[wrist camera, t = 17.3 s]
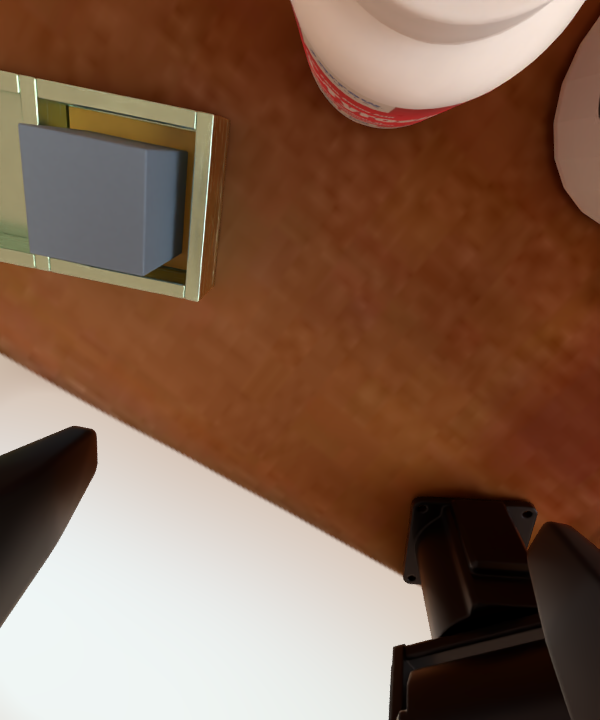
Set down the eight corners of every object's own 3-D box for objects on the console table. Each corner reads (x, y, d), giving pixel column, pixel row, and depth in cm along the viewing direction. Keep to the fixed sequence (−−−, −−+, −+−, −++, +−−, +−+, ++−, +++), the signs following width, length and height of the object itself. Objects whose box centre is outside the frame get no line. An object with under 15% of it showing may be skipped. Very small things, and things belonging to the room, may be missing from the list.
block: (189, 151, 16) (147, 149, 13) (182, 253, 18) (143, 277, 15) (87, 130, 16) (16, 122, 13) (90, 235, 18) (29, 253, 15)
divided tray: (230, 119, 16) (214, 114, 14) (214, 286, 19) (198, 302, 17) (-96, 52, 16) (-163, 36, 14) (-64, 230, 19) (-115, 238, 17)
